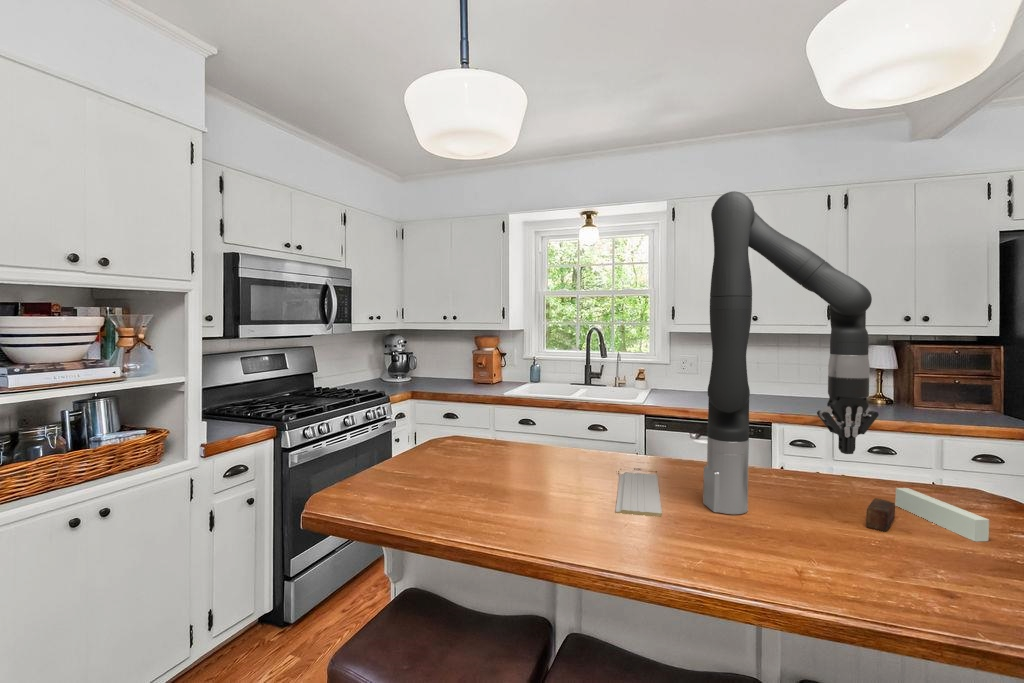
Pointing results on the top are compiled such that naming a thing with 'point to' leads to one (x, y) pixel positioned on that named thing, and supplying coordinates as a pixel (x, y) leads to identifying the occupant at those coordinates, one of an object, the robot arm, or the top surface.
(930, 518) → the board
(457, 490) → the top surface
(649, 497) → the baseboard molding
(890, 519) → the brick
